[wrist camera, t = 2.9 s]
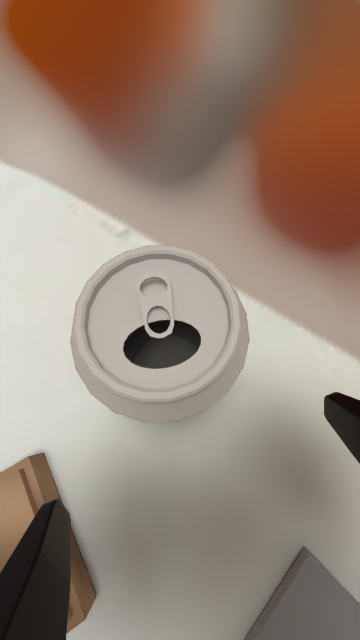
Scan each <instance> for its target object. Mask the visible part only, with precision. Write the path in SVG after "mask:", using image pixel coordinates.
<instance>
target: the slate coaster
mask: <svg viewBox="0 0 360 640" xmlns="http://www.w3.org/2000/svg"><path fill="white" fill-rule="evenodd" d="M245 640H360V604H359V603H358V602H357V601H356V600H355V599H354V598H353V597H352V596H351V595H350V594H349V593H348V592H347V591H346V590H345V589H344V588H343V587H342V586H341V584H340V583H339V582H338V581H337V580H336V579H335V578H334V577H333V576H332V575H331V574H330V573H329V572H328V571H327V570H326V569H325V568H324V567H323V566H322V565H321V564H320V563H319V562H318V561H317V560H316V559H315V557H314V556H313V555H312V554H311V553H310V552H309V551H308V550H307V549H306V548H305V547H304V548H303V550H302V551H301V553H300V554H299V556H298V557H297V559H296V560H295V562H294V564H293V565H292V567H291V568H290V570H289V571H288V573H287V574H286V576H285V578H284V579H283V581H282V582H281V584H280V585H279V587H278V588H277V590H276V592H275V593H274V595H273V596H272V598H271V599H270V601H269V602H268V604H267V606H266V607H265V609H264V610H263V612H262V613H261V615H260V616H259V618H258V619H257V621H256V623H255V624H254V626H253V627H252V629H251V630H250V632H249V633H248V635H247V637H246V638H245Z"/></svg>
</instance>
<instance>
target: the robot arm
mask: <svg viewBox="0 0 360 640" xmlns="http://www.w3.org/2000/svg"><path fill="white" fill-rule="evenodd" d="M324 415H325V417H326V419H327V421H328V422H329V424H330V425H331V426H332V428H333V429H334V430H335V432H336V433H337V434H338V436H339V437H340V438H341V440H342V441H343V442H344V444H345V445H346V446H347V448H348V449H349V450H350V452H351V453H352V454H353V456H354V457H355V458H356V460H357V461H358V462H359V463H360V400H357V399H355V398H352V397H349V396H347V395H344V394H341V393H338V392H334V393H331V394H329V395H326V396H325V398H324ZM70 585H71V519H70V514H69V512H68V511H67V509H66V508H65V507H64V505H63V504H62V502H61V501H60V500H59V499H57V498H55V499H52V500H50V501H47V502H45V503H43V504H42V505H41V507H40V508H39V510H38V512H37V513H36V515H35V516H34V518H33V520H32V521H31V523H30V525H29V526H28V528H27V530H26V531H25V533H24V534H23V536H22V538H21V539H20V541H19V543H18V544H17V546H16V548H15V549H14V551H13V552H12V554H11V556H10V557H9V559H8V561H7V562H6V564H5V566H4V567H3V569H2V570H1V572H0V640H66V633H67V622H68V610H69V599H70Z"/></svg>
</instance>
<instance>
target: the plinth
mask: <svg viewBox="0 0 360 640" xmlns="http://www.w3.org/2000/svg"><path fill="white" fill-rule="evenodd" d="M55 498H57V499H59V500H60V501H61V499H60V496H59V493H58V490H57V488H56V485H55V482H54V480H53V477H52V474H51V471H50V469H49V466H48V463H47V461H46V458H45V455H44V453H41V454H36V455H32V456H28V457H27V458H25V459H23V460H22V461H20V462H18V463H17V464H15V465H13V466H11V467H10V468H8V469H6V470H5V471H3V472H1V473H0V572H1V570H2V569H3V567H4V566H5V564H6V562H7V561H8V559H9V557H10V556H11V554H12V552H13V551H14V549H15V548H16V546H17V544H18V543H19V541H20V539H21V538H22V536H23V534H24V533H25V531H26V530H27V528H28V526H29V525H30V523H31V521H32V520H33V518H34V516H35V515H36V513H37V512H38V510H39V508H40V507H41V505H42V504H43V503H45V502H47V501H50V500H52V499H55ZM61 502H62V501H61ZM95 598H96V594H95V591H94V588H93V586H92V583H91V580H90V577H89V575H88V572H87V569H86V567H85V564H84V561H83V558H82V556H81V553H80V550H79V548H78V545H77V542H76V539H75V537H74V534H73V531H72V529H71V585H70V599H69V610H68V622H67V633H68V632H69V631H70V630H72V629H73V628H75V627H76V626H77V625H79V624H80V623H81V622H83V621H84V620H85V619H86V617H87V615H88V613H89V610H90V608H91V606H92V604H93V602H94V600H95Z"/></svg>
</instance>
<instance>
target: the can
mask: <svg viewBox="0 0 360 640" xmlns="http://www.w3.org/2000/svg"><path fill="white" fill-rule="evenodd" d="M70 343H71V348H72V353H73V358H74V363H75V368H76V371H77V372H78V374H79V375H80V377H81V379H82V380H83V382H84V384H85V385H86V387H87V389H88V390H89V392H90V394H92V395H93V396H94V397H95V398H97V399H98V400H99V401H100V402H102V403H103V404H104V405H105V406H107V407H108V408H109V409H110V410H112V411H113V412H115V413H118V414H121V415H124V416H126V417H129V418H132V419H135V420H138V421H141V422H175V421H178V420H181V419H184V418H186V417H189V416H192V415H195V414H197V413H200V412H203V411H205V410H206V409H207V408H209V407H210V406H211V405H212V404H214V403H215V402H216V401H217V400H219V399H220V398H221V397H222V396H223V395H225V394H226V393H227V392H228V391H229V389H230V388H231V386H232V385H233V383H234V381H235V380H236V378H237V377H238V375H239V373H240V372H241V370H242V368H243V367H244V362H245V358H246V353H247V349H248V344H249V331H248V323H247V314H246V312H245V310H244V307H243V305H242V303H241V301H240V299H239V297H238V294H237V292H236V290H235V289H234V288H233V286H232V284H231V282H230V280H229V279H228V278H227V277H226V276H225V275H224V274H223V273H222V272H221V271H220V269H219V268H218V267H217V266H216V265H215V264H214V263H212V262H211V261H209V260H207V259H206V258H204V257H202V256H201V255H199V254H197V253H196V252H194V251H190V250H186V249H182V248H179V247H174V246H171V245H167V246H144V247H141V248H137V249H133V250H130V251H126V252H123V253H122V254H120V255H118V256H117V257H115V258H113V259H112V260H110V261H108V262H106V263H105V264H103V265H102V266H101V267H100V268H99V270H98V271H97V272H96V273H95V274H94V275H93V276H92V277H91V278H90V279H89V280H88V281H87V282H86V284H85V286H84V288H83V290H82V293H81V295H80V297H79V299H78V301H77V303H76V307H75V314H74V319H73V327H72V334H71V341H70Z"/></svg>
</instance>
